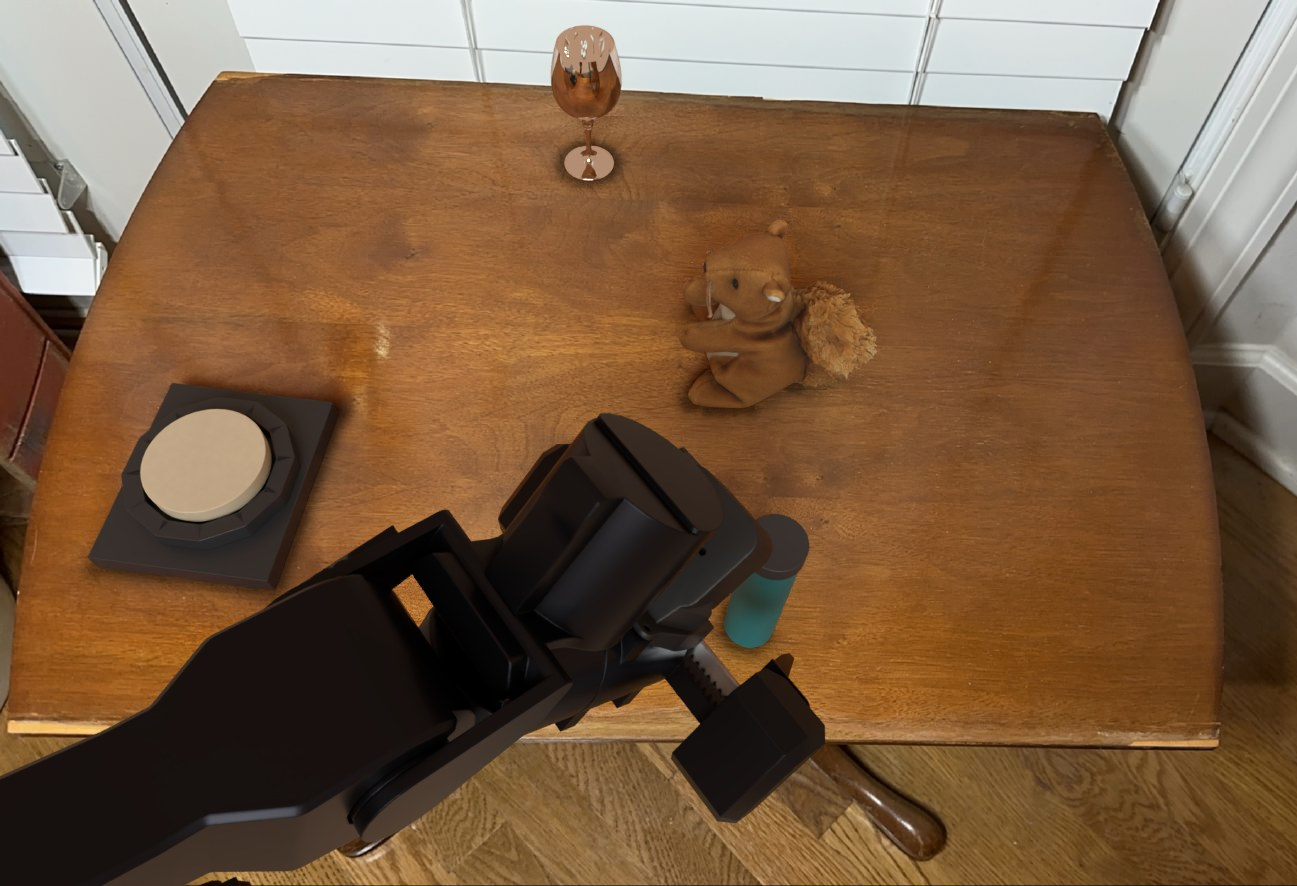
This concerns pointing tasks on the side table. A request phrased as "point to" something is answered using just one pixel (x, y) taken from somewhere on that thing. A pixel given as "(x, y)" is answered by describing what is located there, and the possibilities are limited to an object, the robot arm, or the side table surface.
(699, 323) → the stuffed squirrel
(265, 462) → the pad disc
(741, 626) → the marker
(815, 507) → the side table surface
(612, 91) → the wineglass
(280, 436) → the button base
